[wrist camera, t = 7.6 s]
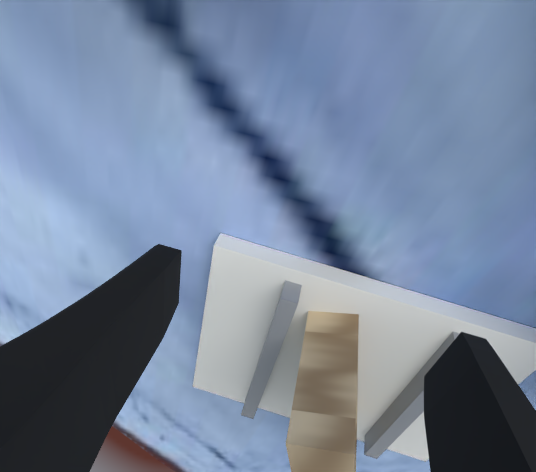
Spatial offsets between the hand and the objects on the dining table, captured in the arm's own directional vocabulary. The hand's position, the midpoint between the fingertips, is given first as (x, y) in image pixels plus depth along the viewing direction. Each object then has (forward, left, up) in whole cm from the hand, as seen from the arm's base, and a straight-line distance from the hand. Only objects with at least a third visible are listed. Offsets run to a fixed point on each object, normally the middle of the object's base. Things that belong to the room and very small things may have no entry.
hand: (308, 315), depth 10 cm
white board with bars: (-5, +15, -11) cm, 19 cm away
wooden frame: (-5, +15, -9) cm, 18 cm away
